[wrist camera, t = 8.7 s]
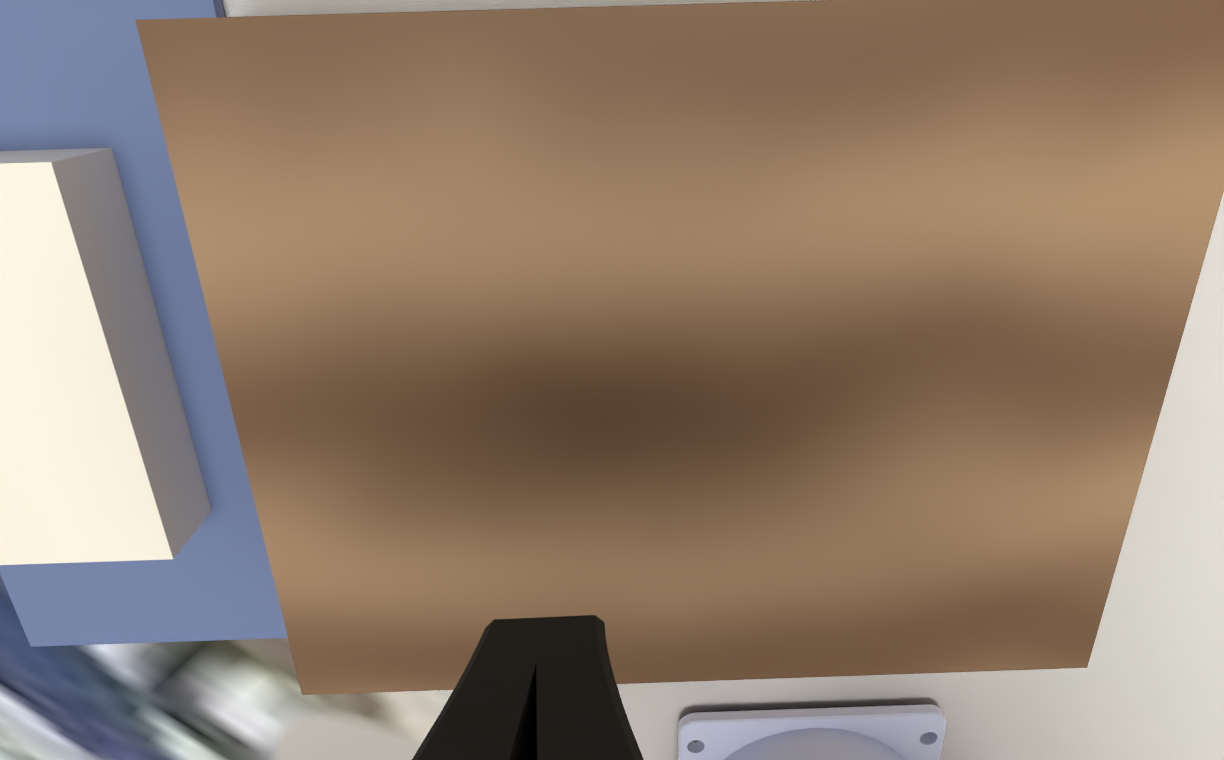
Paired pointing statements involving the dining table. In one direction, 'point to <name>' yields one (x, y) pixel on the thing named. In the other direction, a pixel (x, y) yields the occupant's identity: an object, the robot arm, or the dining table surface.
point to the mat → (129, 124)
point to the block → (85, 375)
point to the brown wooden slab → (697, 319)
